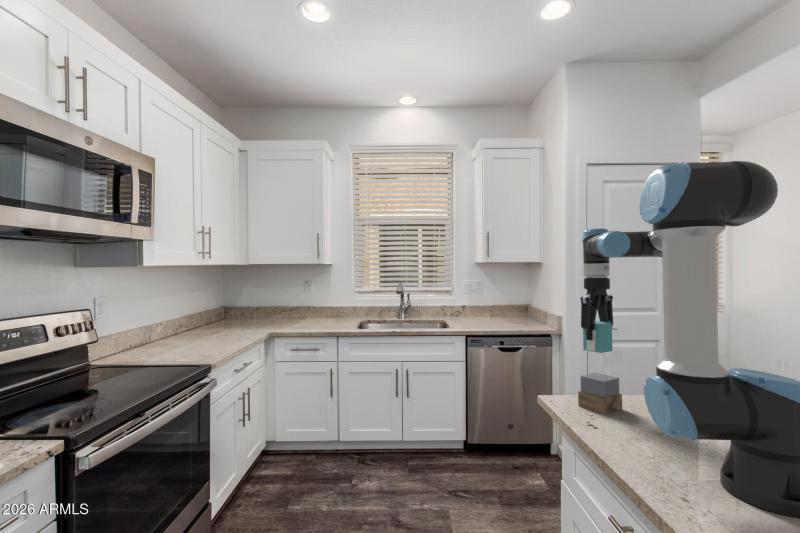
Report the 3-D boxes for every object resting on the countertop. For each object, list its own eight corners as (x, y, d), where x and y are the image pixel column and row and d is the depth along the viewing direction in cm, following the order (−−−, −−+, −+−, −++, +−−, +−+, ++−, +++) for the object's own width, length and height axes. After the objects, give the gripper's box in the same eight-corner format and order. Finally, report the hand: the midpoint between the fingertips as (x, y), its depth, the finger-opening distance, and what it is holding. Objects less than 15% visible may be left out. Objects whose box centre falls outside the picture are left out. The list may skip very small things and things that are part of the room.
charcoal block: (604, 398, 120) (604, 381, 120) (580, 391, 127) (580, 376, 127) (619, 393, 124) (619, 377, 124) (595, 387, 131) (594, 372, 131)
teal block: (600, 353, 122) (600, 324, 122) (583, 349, 127) (582, 322, 127) (612, 350, 125) (611, 322, 125) (594, 347, 130) (594, 320, 130)
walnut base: (604, 415, 119) (604, 398, 119) (578, 406, 127) (578, 391, 127) (622, 410, 124) (622, 394, 124) (595, 402, 131) (595, 387, 131)
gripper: (588, 277, 118) (590, 354, 118) (625, 276, 128) (626, 347, 127) (567, 277, 125) (568, 350, 124) (603, 276, 134) (604, 344, 134)
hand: (597, 349), depth 126 cm, fingers closed on teal block, 6 cm apart
